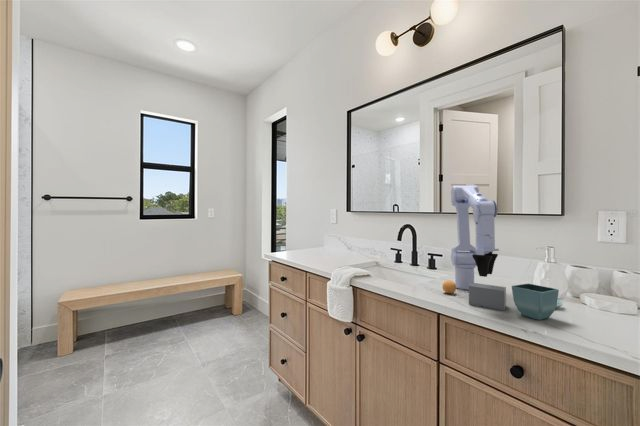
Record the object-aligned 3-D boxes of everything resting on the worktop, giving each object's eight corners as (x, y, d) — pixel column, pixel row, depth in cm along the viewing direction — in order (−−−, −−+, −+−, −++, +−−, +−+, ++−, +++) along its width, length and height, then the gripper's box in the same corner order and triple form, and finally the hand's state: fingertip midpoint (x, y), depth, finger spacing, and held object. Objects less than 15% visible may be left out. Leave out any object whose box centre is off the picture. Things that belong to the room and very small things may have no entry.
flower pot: (510, 314, 88) (510, 285, 89) (528, 310, 92) (528, 282, 92) (541, 323, 80) (541, 292, 80) (559, 319, 84) (559, 289, 84)
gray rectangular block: (471, 300, 103) (471, 282, 103) (505, 305, 97) (505, 287, 97) (468, 304, 98) (468, 285, 98) (504, 310, 92) (504, 290, 92)
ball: (444, 291, 116) (444, 278, 116) (457, 293, 113) (457, 280, 113) (441, 293, 112) (441, 280, 112) (454, 295, 109) (454, 282, 109)
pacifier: (531, 306, 97) (550, 311, 92) (531, 287, 98) (550, 291, 92) (546, 304, 100) (565, 308, 94) (545, 286, 100) (564, 289, 95)
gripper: (494, 236, 90) (494, 279, 89) (502, 235, 100) (503, 274, 100) (469, 235, 94) (470, 276, 94) (480, 235, 105) (480, 272, 104)
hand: (485, 275), depth 97 cm, fingers open, 7 cm apart
